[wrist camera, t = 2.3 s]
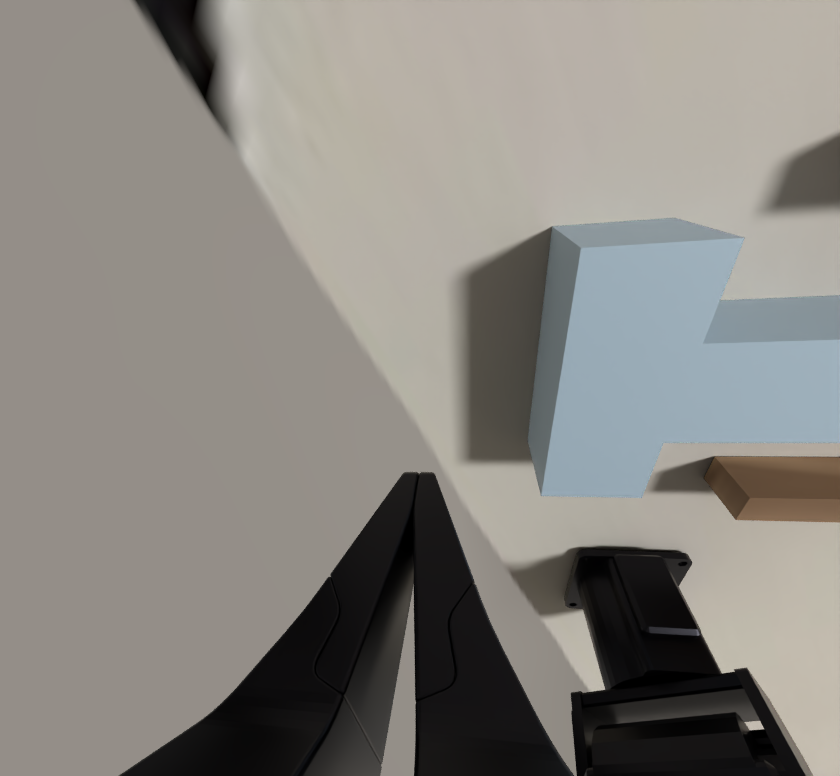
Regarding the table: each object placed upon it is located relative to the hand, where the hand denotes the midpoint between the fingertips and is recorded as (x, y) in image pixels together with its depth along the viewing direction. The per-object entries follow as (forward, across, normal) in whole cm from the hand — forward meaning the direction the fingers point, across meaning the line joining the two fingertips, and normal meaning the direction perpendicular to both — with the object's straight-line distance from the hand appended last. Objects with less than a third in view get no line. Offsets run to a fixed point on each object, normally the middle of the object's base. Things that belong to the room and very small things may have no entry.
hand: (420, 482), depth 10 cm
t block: (+7, -10, 0) cm, 12 cm away
